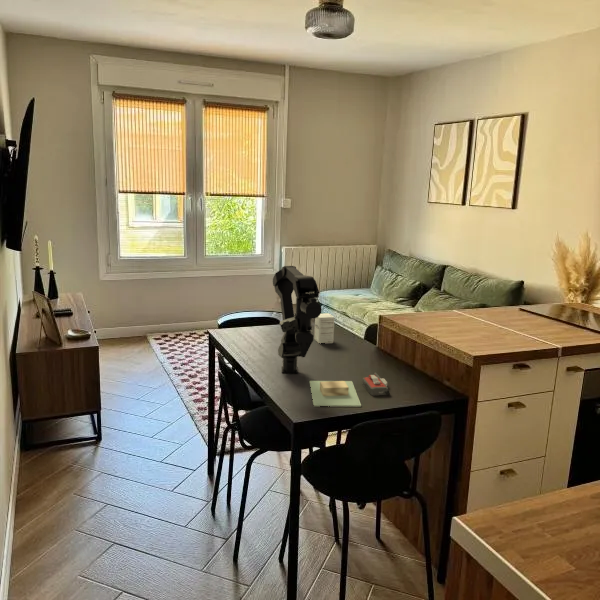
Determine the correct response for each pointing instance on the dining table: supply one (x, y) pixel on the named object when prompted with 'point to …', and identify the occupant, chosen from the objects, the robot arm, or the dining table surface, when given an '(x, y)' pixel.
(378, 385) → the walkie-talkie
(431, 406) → the dining table surface
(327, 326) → the supplement box
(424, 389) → the dining table surface
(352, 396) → the rubber mat
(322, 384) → the brass block
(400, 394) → the dining table surface
